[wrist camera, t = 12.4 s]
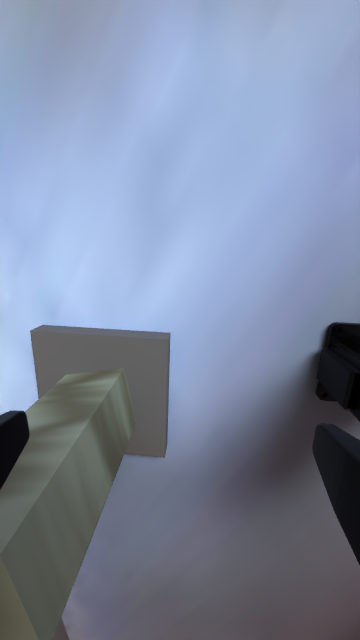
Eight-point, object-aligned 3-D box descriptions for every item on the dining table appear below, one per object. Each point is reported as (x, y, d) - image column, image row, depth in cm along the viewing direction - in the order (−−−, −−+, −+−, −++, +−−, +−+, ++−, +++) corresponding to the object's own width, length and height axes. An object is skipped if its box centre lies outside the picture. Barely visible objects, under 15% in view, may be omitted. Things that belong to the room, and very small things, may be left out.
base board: (170, 332, 21) (167, 339, 19) (167, 444, 24) (164, 457, 22) (42, 325, 22) (30, 330, 20) (54, 433, 25) (44, 445, 23)
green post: (124, 368, 20) (0, 554, 8) (136, 421, 22) (46, 656, 9) (66, 374, 21) (-134, 556, 9) (81, 426, 22) (-74, 651, 10)
